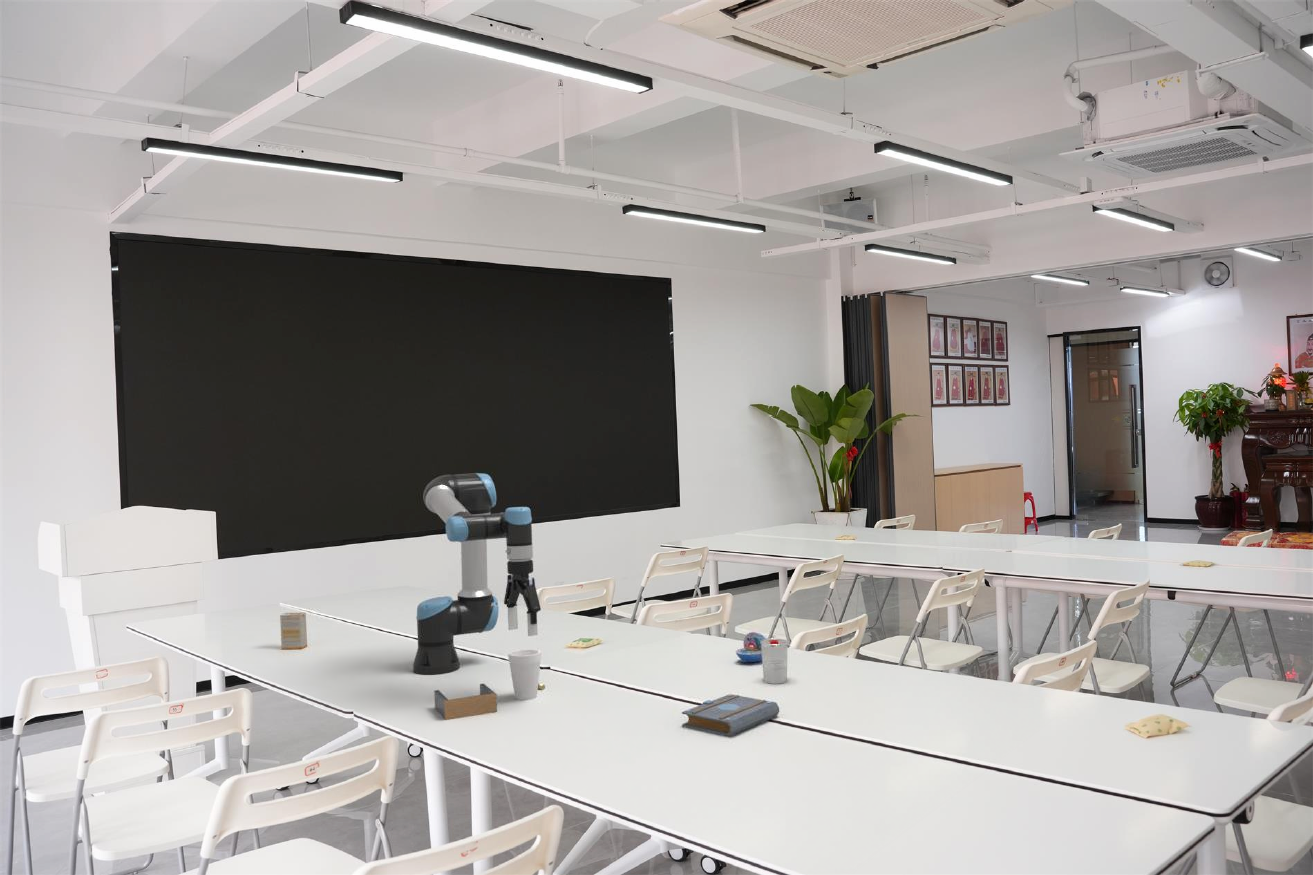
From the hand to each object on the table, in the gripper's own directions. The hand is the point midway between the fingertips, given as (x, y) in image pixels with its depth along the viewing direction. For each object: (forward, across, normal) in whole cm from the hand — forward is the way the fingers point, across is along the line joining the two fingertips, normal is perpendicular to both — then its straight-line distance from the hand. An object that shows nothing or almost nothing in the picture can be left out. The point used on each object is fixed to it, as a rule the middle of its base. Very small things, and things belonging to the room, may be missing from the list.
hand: (522, 632), depth 284 cm
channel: (+19, 0, -19) cm, 27 cm away
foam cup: (+19, -1, 0) cm, 19 cm away
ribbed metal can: (+20, +32, +68) cm, 78 cm away
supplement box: (+17, -122, -39) cm, 129 cm away
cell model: (+19, +8, +78) cm, 81 cm away
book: (+21, +56, +32) cm, 68 cm away
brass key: (+19, -8, +7) cm, 22 cm away
